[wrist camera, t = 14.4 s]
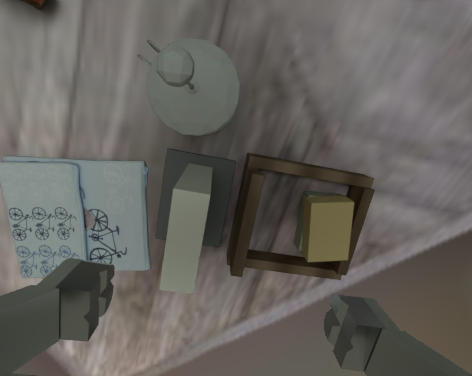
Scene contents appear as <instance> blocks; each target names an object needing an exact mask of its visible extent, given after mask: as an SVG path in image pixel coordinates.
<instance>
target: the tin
mask: <svg viewBox="0 0 472 376" xmlns="http://www.w3.org/2000/svg"><path fill="white" fill-rule="evenodd" d="M21 1H25V2H27V3H29V4H31V5H33V6H34V7H36V8H37V9H38V10H42V8H43V7H44V4H45V2H46V0H21Z"/></svg>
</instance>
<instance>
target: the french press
mask: <svg viewBox="0 0 472 376" xmlns="http://www.w3.org/2000/svg"><path fill="white" fill-rule="evenodd" d="M147 42H148V43H149V45H150V46H151V47H152V48H153V49H154V50H155V51H157V52H158V54H157V55H156V56H155V58H154V60H153V62H152V64H151V63H149V62H148V61H147V60H146V59H144V58H143V57H142V56H141V55H140V54H138V55H137V56H138V57H139V58H140V59H141V60H142V61H143V62H145V63H146V64H147V65H148V66H150V69H149V72H148V74H147V95H148V97H149V100H150V103H151V105H152V108H153V111H154V112H155V113H156V115H157V116H158V117H159V118H160V119H161V120H162V121H163V123H164V124H165V125H166V126H168V127H170V128H171V129H173V130H175V131H177V132H179V133H181V134H186V135H199V136H200V135H210V134H213V133H216V132H219V131H220V130H222V129H223V128H224V127H225V126H226V125H228V124H229V123H230V121H231V119H232V117H233V115H234V113H235V111H236V106H237V104H238V98H239V89H240V84H239V80H238V76H237V72H236V69H235V66H234V64H233V63H232V62H231V60H230V59H229V58H228V56H227V55H226V53H225V52H224V51H223V50H222V49H220V48H219V47H217V46H215V45H214V44H212V43H211V42H209V41H207V40H202V39H195V38H188V37H187V38H184V39H181V40H178V41H175V42H172V43H169V44H168V45H167V46H166V47H165V48H164V49H161V48H160V47H159V46H158V45H156V44H155V43H153V42H152V41H150V40H147Z"/></svg>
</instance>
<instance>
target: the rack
mask: <svg viewBox="0 0 472 376" xmlns="http://www.w3.org/2000/svg"><path fill="white" fill-rule="evenodd" d="M259 168H260V169H266V170H271V171H277V172H282V173H288V174H294V175H299V176H305V177H310V178H316V179H321V180H327V181H332V182H338V183H344V184H349V185H350V187H349V190H348V193H347V196H346V197H347V198H349V199H351V200H352V201H354V210H353V219H352V227H351V236H350V245H349V254H348V260H342V261H322V262H307V260H306V259H305V257H298V256H290V255H283V254H276V253H269V252H262V251H255V250H248V248H249V243H250V239H251V234H252V230H253V225H254V221H255V217H256V212H257V208H258V203H259V199H260V194H261V190H262V185H263V181H264V177H265V176H264V174H263V173H262V172H261V171H260V170H259ZM373 180H374V178H371V177H369V176H366V175H363V174H359V173H353V172H348V171H343V170H337V169H332V168H326V167H321V166H316V165H310V164H305V163H300V162H294V161H289V160H284V159H278V158H273V157H267V156H262V155H257V154H251V153H247V157H246V162H245V167H244V172H243V177H242V182H241V187H240V192H239V197H238V202H237V207H236V211H235V216H234V221H233V226H232V231H231V236H230V241H229V246H228V251H227V265H230V271H231V276H239V277H242V274H243V270H244V267H247V268H255V269H262V270H270V271H277V272H285V273H292V274H300V275H307V276H315V277H322V278H330V279H337V280H340V279H341V276H342V275H346V274H347V271H348V268H349V265H350V262H351V259H352V256H353V253H354V250H355V247H356V244H357V241H358V238H359V235H360V232H361V229H362V226H363V223H364V220H365V217H366V214H367V211H368V208H369V206H370V203H371V200H372V197H373V194H374V191H375V190H373V189H371V186H372V183H373Z"/></svg>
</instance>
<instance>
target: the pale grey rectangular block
mask: <svg viewBox="0 0 472 376" xmlns="http://www.w3.org/2000/svg"><path fill="white" fill-rule="evenodd" d="M212 171H213V168H212V167H207V166H201V165H195V164H190V163H189V164H188V166H187V167H186V169H185V170H184V172H183V174H182V175H181V177H180V179H179V180H178V182H177V183H176V185H175V187H174V188H173V194H172V202H171V209H170V216H169V223H168V231H167V238H166V245H165V252H164V260H163V267H162V274H161V281H160V289H159V290H164V291H172V292H181V293H189V294H193V292H194V286H195V281H196V275H197V269H198V264H199V258H200V252H201V247H202V241H203V235H204V229H205V224H206V218H207V212H208V207H209V201H210V195H211V183H212Z"/></svg>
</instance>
